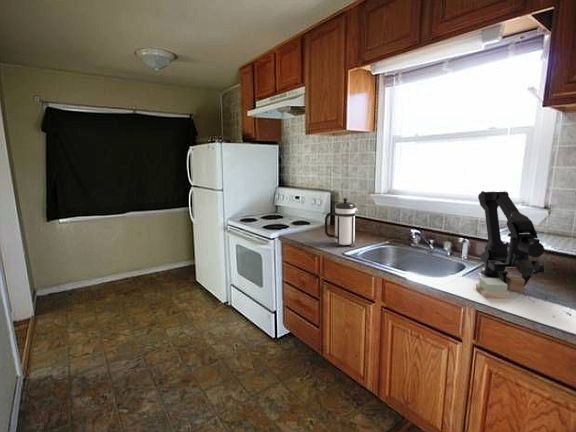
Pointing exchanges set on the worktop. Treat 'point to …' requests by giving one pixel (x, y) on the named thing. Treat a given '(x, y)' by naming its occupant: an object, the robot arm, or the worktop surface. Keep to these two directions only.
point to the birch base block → (492, 293)
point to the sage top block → (493, 285)
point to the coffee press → (343, 223)
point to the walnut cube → (515, 283)
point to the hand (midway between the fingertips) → (513, 286)
